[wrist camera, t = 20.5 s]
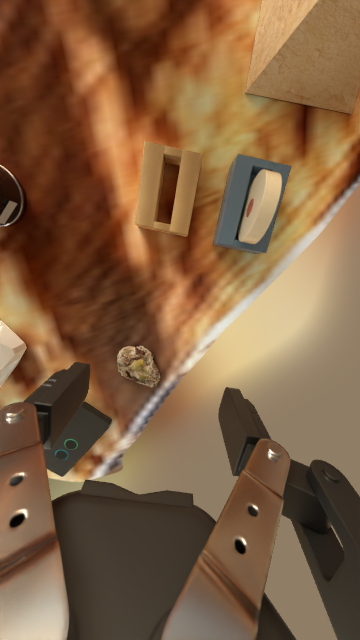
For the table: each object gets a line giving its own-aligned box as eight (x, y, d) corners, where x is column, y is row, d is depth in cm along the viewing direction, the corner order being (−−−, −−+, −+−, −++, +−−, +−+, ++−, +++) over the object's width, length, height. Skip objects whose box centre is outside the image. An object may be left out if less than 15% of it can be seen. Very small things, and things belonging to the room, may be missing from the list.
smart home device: (31, 461, 48) (79, 405, 43) (36, 454, 49) (82, 400, 45) (62, 478, 49) (111, 426, 45) (66, 471, 51) (113, 420, 47)
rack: (138, 227, 35) (134, 224, 33) (147, 151, 32) (144, 140, 30) (187, 237, 36) (187, 235, 33) (200, 163, 33) (203, 154, 30)
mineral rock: (102, 366, 40) (127, 347, 37) (112, 352, 44) (136, 334, 40) (140, 400, 43) (168, 385, 39) (147, 384, 47) (172, 369, 43)
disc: (233, 239, 35) (247, 244, 27) (251, 176, 31) (274, 160, 23) (245, 241, 35) (263, 248, 27) (264, 179, 31) (292, 165, 23)
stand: (212, 245, 36) (217, 242, 32) (229, 167, 33) (237, 153, 29) (256, 253, 37) (266, 253, 32) (277, 178, 34) (291, 166, 29)
